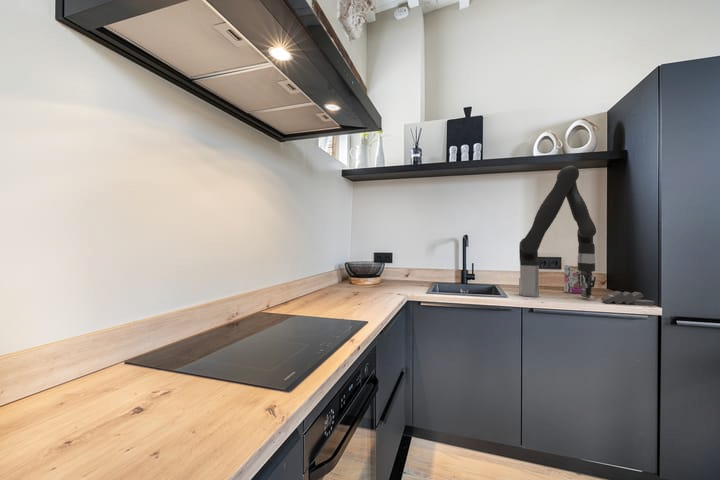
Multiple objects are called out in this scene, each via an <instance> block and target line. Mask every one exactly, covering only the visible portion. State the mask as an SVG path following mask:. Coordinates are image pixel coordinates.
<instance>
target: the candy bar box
mask: <svg viewBox="0 0 720 480" xmlns="http://www.w3.org/2000/svg"><path fill="white" fill-rule="evenodd" d="M577 266H578V265H577V264H576V265H575V264H574V265H566V264H565V265H564V267H563V269H564V272H563V274H564V275H563V277H564V280H563V281H564V282H563V283H564V286H563V292H564V293H567V294H581V286H580V285H579V283H578V274H580V273H581V271H578V270H577Z"/></svg>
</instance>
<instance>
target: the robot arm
mask: <svg viewBox="0 0 720 480" xmlns="http://www.w3.org/2000/svg"><path fill="white" fill-rule="evenodd" d="M579 177H580V171H579V168H577V166H574V165H568V166H565V167H563V168H562V169H560V170H559V172H558V173H557V174H556V181H555V184H554V185H553V187H552V188H551V190H550V191H549V193H548V194H547V196H546V197H545V198H544V200H543V201H542V203H541V204H540V206H539V209H538V210H537V212H536V213H535V217H534V220H533V223H532V226H531V228H530V230H529V231H528V233H527V234H526V235H525V237H524V238H522V239H521V240H520V242H519V245H518V246H519V251H518V252H519V278H518V295H520V296H522V297H530V298H531V297H534V298H535V297H537V298H538V297H539V295H540V271H539V270H540V269H539V266H540V264H539V263H540V260H539V257H538V256H539V249H540V246H541V243H542V241H543V238H544V236H545V235H546V233H547V231H548V230H549V229H550V228H551V225H552V224H553V222H554V221H555V219H556V218H557V216H558V214H559V212H560V210H561V209H562V206H563V204H564V201H565V199H566V200H567V202H568V206H569V209H570V213H571V215H572V217H573V220H574V221H575V222H576V225H577V228H578V229H577V241H578V246H577V247H578V249H577V265H576V266H577V270H578V271H581V273H580V274H578V283H579V285H580V286H581V289H582V282H584V283H585V285H586V295H590V296H592V288H595V283H596V276H593V272H596V245H595V243H594V237H595V235H596V233H597V228H596V226H595V223H594V221H593V220H592V218H591V215H590V212H589V209H588V206H587V204H586V201H585V200H584V199H583V197H582V196H581V193H580V192H579V188H578V185H577V180H578V179H579Z"/></svg>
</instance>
